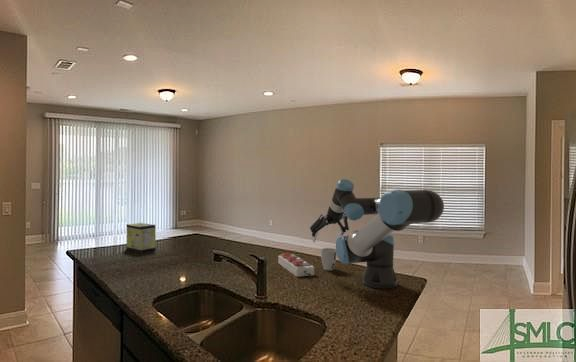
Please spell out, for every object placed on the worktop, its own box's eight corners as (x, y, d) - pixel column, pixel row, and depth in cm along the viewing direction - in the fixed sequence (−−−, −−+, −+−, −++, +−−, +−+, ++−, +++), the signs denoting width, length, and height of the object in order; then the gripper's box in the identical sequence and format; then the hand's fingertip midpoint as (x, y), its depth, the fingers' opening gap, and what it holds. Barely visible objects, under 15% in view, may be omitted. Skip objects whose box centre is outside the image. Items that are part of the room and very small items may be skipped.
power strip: (319, 278, 186) (319, 269, 186) (301, 280, 183) (301, 270, 183) (293, 261, 218) (294, 253, 218) (278, 262, 215) (278, 255, 215)
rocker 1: (290, 255, 209) (290, 253, 209) (284, 256, 208) (284, 253, 208) (287, 255, 214) (287, 253, 214) (281, 256, 213) (280, 253, 213)
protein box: (141, 246, 254) (141, 222, 254) (156, 249, 245) (156, 224, 245) (126, 249, 246) (126, 224, 245) (141, 252, 237) (141, 226, 236)
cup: (335, 271, 198) (336, 251, 198) (319, 270, 200) (319, 251, 200) (337, 267, 206) (337, 248, 206) (321, 266, 208) (321, 247, 208)
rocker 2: (296, 259, 201) (296, 256, 201) (290, 260, 200) (289, 257, 200) (293, 259, 206) (293, 256, 206) (286, 260, 204) (286, 257, 205)
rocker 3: (303, 263, 192) (303, 260, 192) (296, 264, 191) (296, 261, 191) (299, 263, 197) (299, 260, 197) (292, 264, 196) (292, 261, 196)
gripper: (357, 202, 195) (345, 233, 208) (310, 203, 187) (300, 235, 199) (363, 212, 190) (350, 243, 202) (315, 214, 181) (304, 246, 194)
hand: (325, 239), depth 201 cm, fingers open, 13 cm apart
